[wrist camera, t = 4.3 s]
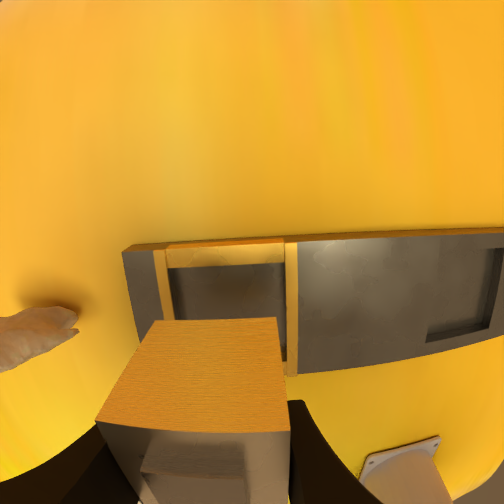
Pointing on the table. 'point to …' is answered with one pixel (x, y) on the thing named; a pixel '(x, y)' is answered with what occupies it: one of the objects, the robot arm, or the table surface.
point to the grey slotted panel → (332, 291)
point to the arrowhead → (34, 333)
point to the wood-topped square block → (203, 414)
